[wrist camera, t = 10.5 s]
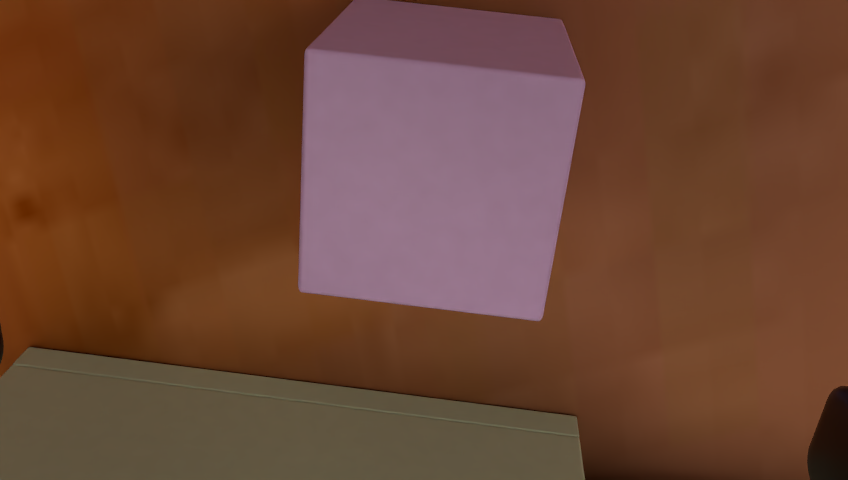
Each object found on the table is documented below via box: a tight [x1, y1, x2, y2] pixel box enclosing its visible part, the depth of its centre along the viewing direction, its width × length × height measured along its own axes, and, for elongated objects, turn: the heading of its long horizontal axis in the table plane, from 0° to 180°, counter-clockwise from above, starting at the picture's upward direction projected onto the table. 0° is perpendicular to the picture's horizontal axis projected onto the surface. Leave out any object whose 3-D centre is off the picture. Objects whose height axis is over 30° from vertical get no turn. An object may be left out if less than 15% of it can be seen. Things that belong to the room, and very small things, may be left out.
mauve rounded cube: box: [298, 0, 586, 321], centre depth 15 cm, size 4×4×5 cm
